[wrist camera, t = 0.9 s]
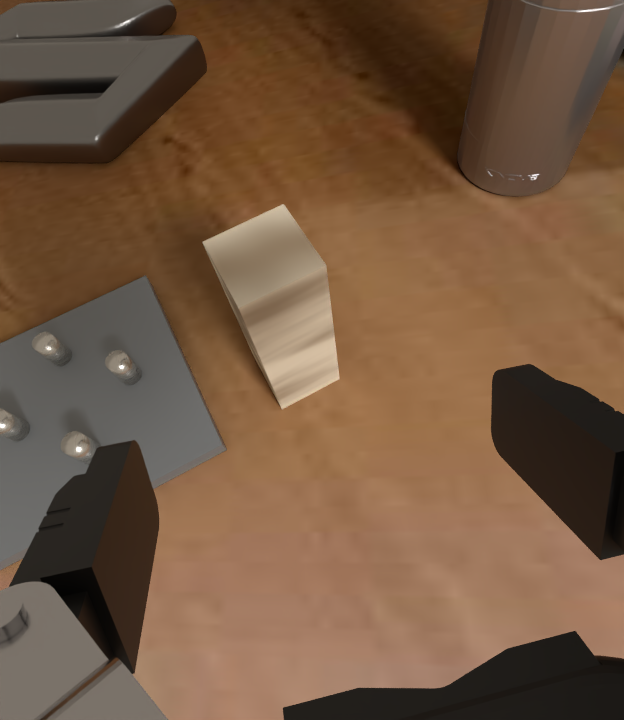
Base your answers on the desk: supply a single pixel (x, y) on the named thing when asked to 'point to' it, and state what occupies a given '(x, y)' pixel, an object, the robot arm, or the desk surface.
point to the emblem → (89, 76)
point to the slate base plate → (94, 404)
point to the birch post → (279, 301)
